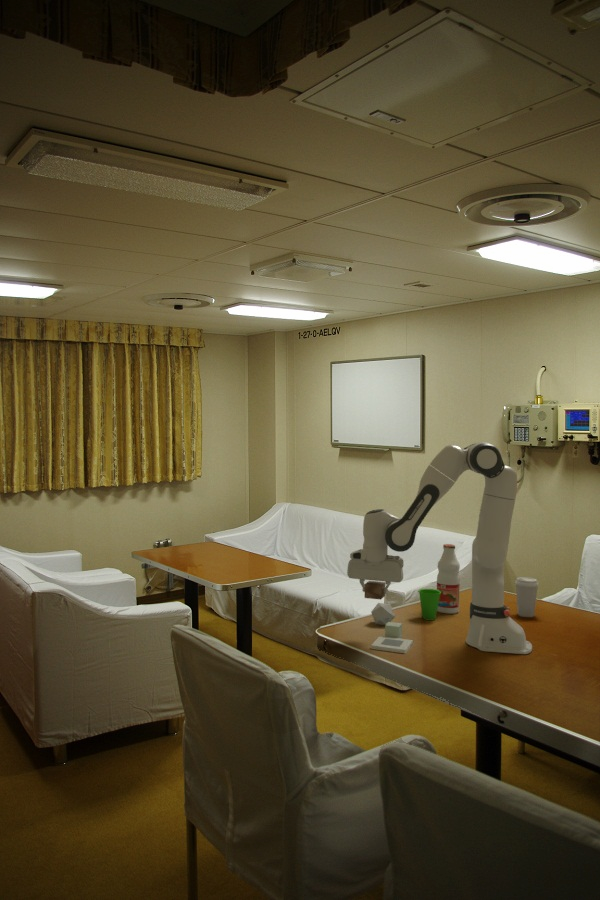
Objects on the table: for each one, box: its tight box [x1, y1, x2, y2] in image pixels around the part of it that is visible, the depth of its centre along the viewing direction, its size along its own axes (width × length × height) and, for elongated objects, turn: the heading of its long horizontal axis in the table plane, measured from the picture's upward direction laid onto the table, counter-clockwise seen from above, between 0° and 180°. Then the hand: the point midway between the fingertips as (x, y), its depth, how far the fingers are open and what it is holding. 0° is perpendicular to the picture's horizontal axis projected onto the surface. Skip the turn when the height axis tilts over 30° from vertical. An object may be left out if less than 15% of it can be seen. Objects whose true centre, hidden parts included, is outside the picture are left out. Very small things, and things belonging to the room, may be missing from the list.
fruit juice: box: [436, 543, 461, 615], centre depth 283 cm, size 9×9×28 cm
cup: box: [418, 588, 441, 621], centre depth 271 cm, size 9×9×11 cm
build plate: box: [370, 635, 414, 654], centre depth 234 cm, size 12×12×1 cm
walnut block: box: [364, 580, 386, 600], centre depth 243 cm, size 6×6×5 cm
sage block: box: [384, 621, 403, 639], centre depth 244 cm, size 5×5×5 cm
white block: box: [370, 602, 396, 626], centre depth 262 cm, size 8×9×10 cm
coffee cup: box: [514, 576, 540, 618], centre depth 280 cm, size 10×10×15 cm
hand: (374, 592), depth 243 cm, fingers closed on walnut block, 6 cm apart
